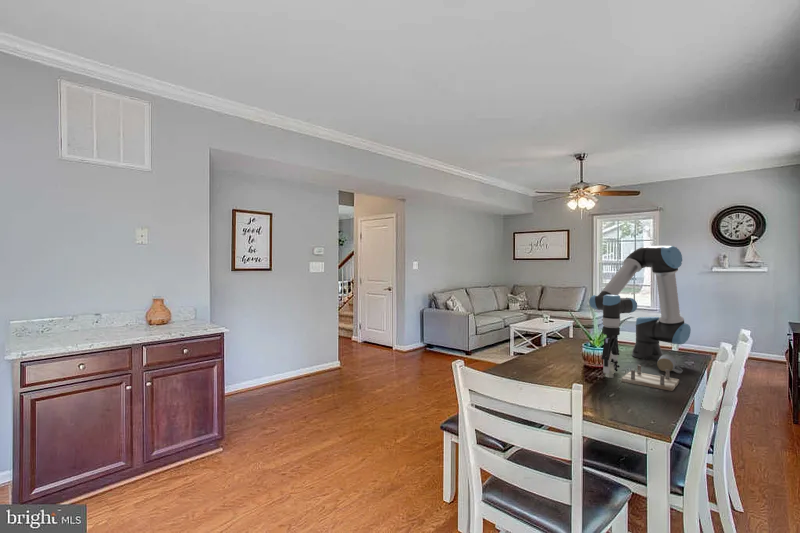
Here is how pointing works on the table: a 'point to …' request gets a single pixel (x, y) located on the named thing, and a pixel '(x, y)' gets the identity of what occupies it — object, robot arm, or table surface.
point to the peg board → (651, 379)
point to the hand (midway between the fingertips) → (610, 370)
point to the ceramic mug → (668, 364)
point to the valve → (612, 369)
